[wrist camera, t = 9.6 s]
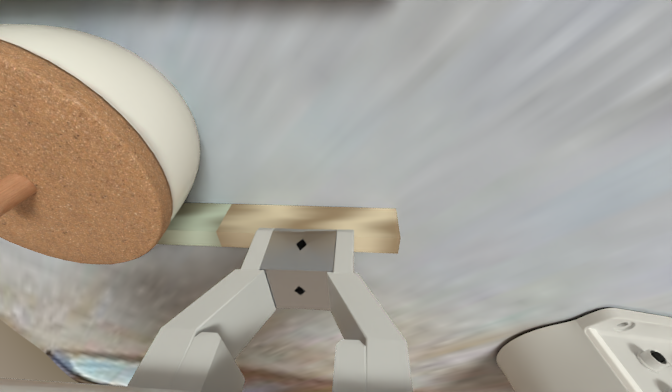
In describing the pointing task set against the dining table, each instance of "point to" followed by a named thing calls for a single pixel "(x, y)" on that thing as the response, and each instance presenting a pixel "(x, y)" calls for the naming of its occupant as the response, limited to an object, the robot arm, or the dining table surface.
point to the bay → (280, 224)
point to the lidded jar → (88, 146)
